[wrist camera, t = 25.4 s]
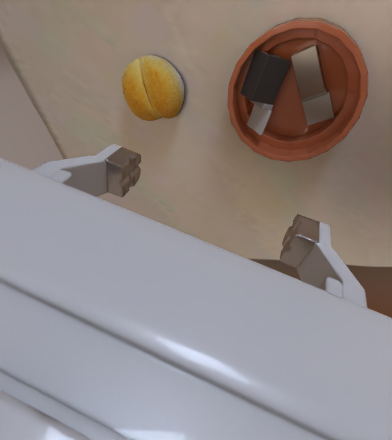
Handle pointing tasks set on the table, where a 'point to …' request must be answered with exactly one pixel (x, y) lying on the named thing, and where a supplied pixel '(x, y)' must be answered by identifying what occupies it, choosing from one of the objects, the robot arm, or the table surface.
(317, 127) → the bowl
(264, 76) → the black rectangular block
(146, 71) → the bread roll
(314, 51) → the block
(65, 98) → the table surface
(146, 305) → the robot arm
